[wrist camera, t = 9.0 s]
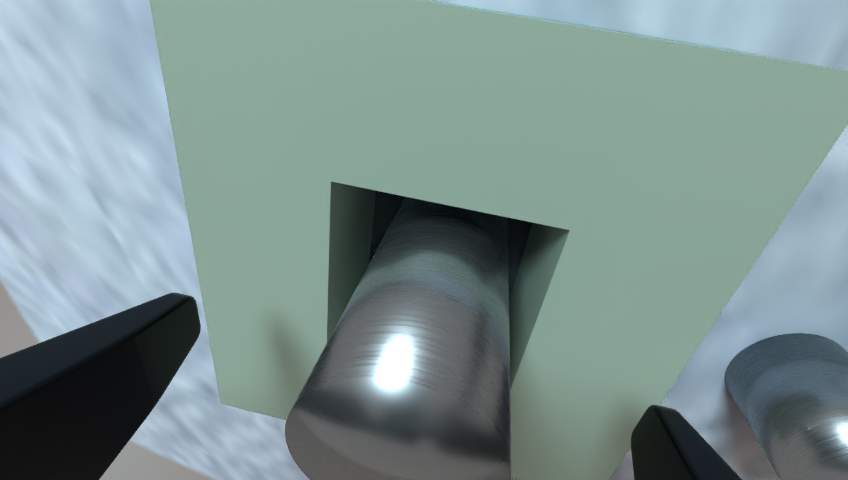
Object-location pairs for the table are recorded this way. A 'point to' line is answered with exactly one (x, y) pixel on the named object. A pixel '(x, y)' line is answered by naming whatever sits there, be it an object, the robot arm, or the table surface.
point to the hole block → (484, 188)
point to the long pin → (416, 359)
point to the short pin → (795, 403)
